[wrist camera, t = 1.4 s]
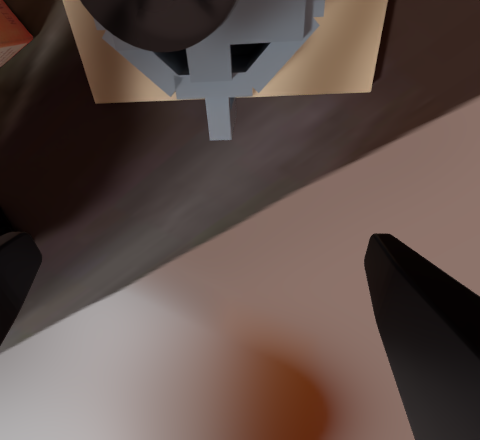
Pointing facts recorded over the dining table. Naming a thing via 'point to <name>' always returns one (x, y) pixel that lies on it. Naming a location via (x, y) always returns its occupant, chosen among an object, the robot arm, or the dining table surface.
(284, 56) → the grey faceted open cylinder
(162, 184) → the dining table surface
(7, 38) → the cracker box
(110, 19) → the plunger
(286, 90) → the board
